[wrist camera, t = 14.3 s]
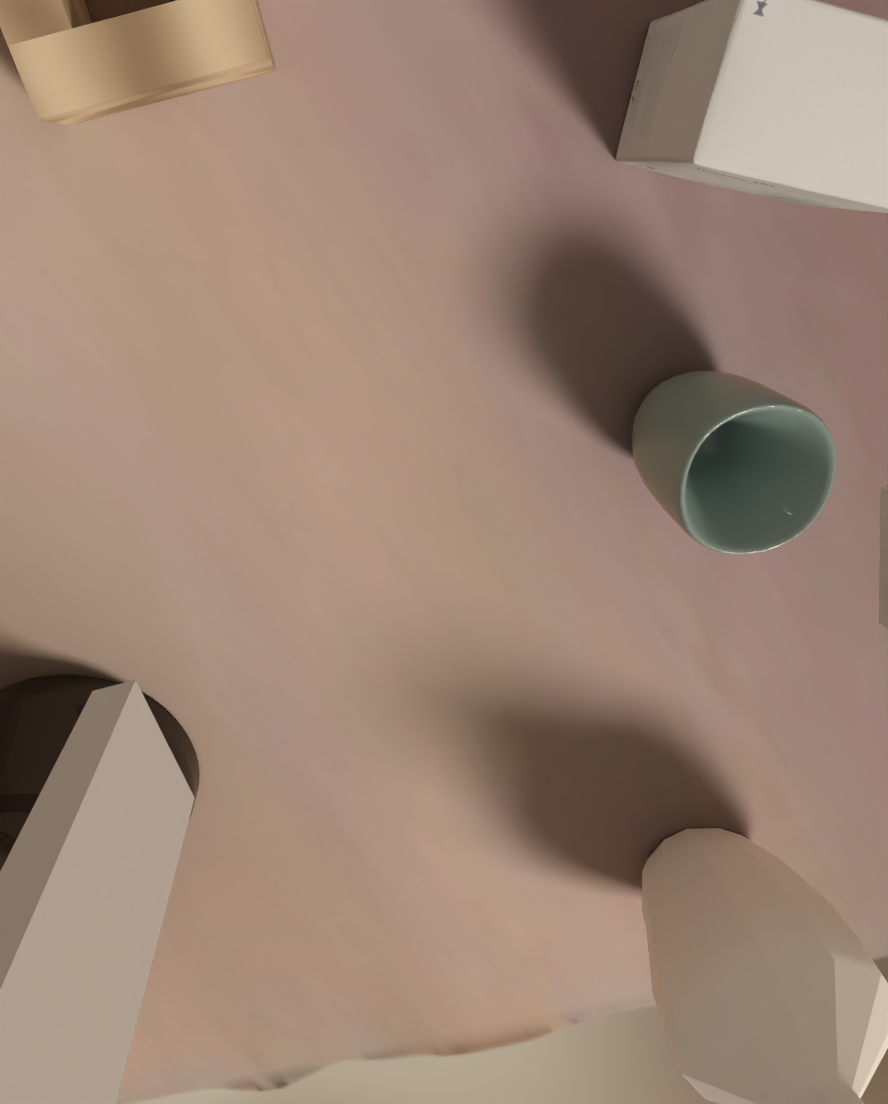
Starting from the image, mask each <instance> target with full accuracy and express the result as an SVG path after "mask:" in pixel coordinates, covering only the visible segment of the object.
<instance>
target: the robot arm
mask: <svg viewBox="0 0 888 1104" xmlns="http://www.w3.org/2000/svg"><path fill="white" fill-rule="evenodd" d="M879 622H880V623H881V624H882V625H883V626H885V627H886V628H887V629H888V485H886V486H882V487H881V495H880V579H879ZM198 786H199V765H198V760H197V756H196V753H195V750H194V747H193V745H192V743H191V741H190V739H189V737H188V735H187V734H186V732H185V731H184V729H183V728H182V727H181V726H180V724H179V723H178V722H177V721H176V720H175V719H174V718H173V717H172V716H171V715H170V714H169V713H168V712H167V711H166V710H165V709H163V708H162V707H161V706H160V705H158V704H157V703H156V702H154V701H153V700H151V699H149V698H148V697H146V696H144V695H143V694H142V692H141V690H140V688H139V686H138V684H137V682H136V680H133V681H129V682H125V683H121V684H117V683H114V682H110V681H106V680H102V679H98V678H92V677H85V676H73V675H59V676H46V677H40V678H35V679H30V680H26V681H23V682H20V683H17V684H14V685H12V686H9V687H7V688H5V689H3V690H1V691H0V1104H116V1100H117V1096H118V1093H119V1089H120V1085H121V1081H122V1077H123V1073H124V1069H125V1066H126V1062H127V1058H128V1054H129V1050H130V1046H131V1042H132V1038H133V1035H134V1031H135V1027H136V1023H137V1019H138V1015H139V1011H140V1007H141V1004H142V1000H143V996H144V992H145V988H146V984H147V980H148V976H149V973H150V969H151V965H152V961H153V957H154V953H155V949H156V946H157V942H158V938H159V934H160V930H161V926H162V922H163V918H164V915H165V911H166V907H167V903H168V899H169V895H170V891H171V887H172V884H173V880H174V876H175V872H176V868H177V864H178V860H179V856H180V853H181V849H182V845H183V841H184V837H185V833H186V829H187V825H188V822H189V819H190V817H191V814H192V810H193V806H194V802H195V799H196V795H197V791H198Z"/></svg>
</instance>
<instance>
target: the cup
mask: <svg viewBox="0 0 888 1104" xmlns="http://www.w3.org/2000/svg"><path fill="white" fill-rule="evenodd" d="M632 452H633V457H634V461H635V465H636V467H637V470H638V472H639V474H640V476H641V478H642V481H643V482H644V484H645V485H646V487H647V488H648V490H649V491H650V492H651V494H652V495H653V496H654V498H655V499H656V500H657V502H658V503H659V504H660V505H661V507H662V508H663V509H664V510H665V511H666V512H667V513H668V515H669V516H670V517H671V518H672V519H673V520H674V521H675V522H676V523H677V524H678V525H679V526H680V527H681V529H682V530H683V531H684V532H685V533H686V534H688V535H689V536H690V537H691V538H693V539H694V540H695V541H697V542H698V543H699V544H701V545H702V546H704V547H707V548H709V549H712V550H714V551H717V552H722V553H727V554H752V553H759V552H764V551H767V550H770V549H773V548H777V547H779V546H781V545H783V544H785V543H787V542H789V541H791V540H793V539H794V538H795V537H797V536H798V535H800V534H801V533H802V532H804V531H805V530H806V529H807V528H808V527H809V526H810V525H811V523H812V522H813V521H814V520H815V519H816V517H817V516H818V514H819V513H820V511H821V510H822V508H823V507H824V504H825V502H826V500H827V498H828V496H829V493H830V490H831V487H832V483H833V479H834V473H835V464H836V458H835V446H834V443H833V439H832V436H831V433H830V431H829V430H828V428H827V427H826V425H825V423H824V422H823V420H822V419H821V418H819V417H818V416H817V415H816V414H815V413H814V412H812V411H811V410H810V409H809V408H807V407H805V406H804V405H802V404H800V403H798V402H796V401H794V400H793V399H791V398H789V397H787V396H785V395H783V394H781V393H779V392H777V391H774V390H772V389H770V388H768V387H766V386H764V385H762V384H760V383H757V382H755V381H753V380H750V379H748V378H745V377H742V376H738V375H734V374H730V373H725V372H720V371H693V372H686V373H683V374H679V375H676V376H673V377H671V378H669V379H667V380H665V381H663V382H661V383H660V384H658V385H657V386H656V387H655V388H653V389H652V390H651V391H650V392H649V393H648V395H647V396H646V397H645V398H644V399H643V401H642V403H641V405H640V407H639V409H638V411H637V414H636V417H635V420H634V423H633V430H632Z"/></svg>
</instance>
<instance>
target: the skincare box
mask: <svg viewBox="0 0 888 1104" xmlns="http://www.w3.org/2000/svg"><path fill="white" fill-rule="evenodd" d="M616 160H617V162H620V163H624V164H628V165H631V166H635V167H639V168H642V169H646V170H650V171H654V172H658V173H662V174H666V175H670V176H674V177H679V178H683V179H687V180H691V181H696V182H700V183H704V184H709V185H713V186H718V187H722V188H726V189H731V190H735V191H739V192H744V193H748V194H752V195H757V196H761V197H766V198H770V199H774V200H779V201H784V202H790V203H797V204H804V205H813V206H823V207H833V208H842V209H852V210H861V211H873V212H885V213H888V19H884V18H880V17H877V16H873V15H870V14H866V13H863V12H859V11H856V10H852V9H849V8H845V7H842V6H838V5H834V4H831V3H827V2H824V1H821V0H704V1H702V2H700V3H697V4H695V5H693V6H691V7H688V8H686V9H683V10H681V11H679V12H675V13H672V14H670V15H668V16H665V17H661V18H659V19H656V20H653V21H652V22H651V24H650V26H649V29H648V33H647V37H646V41H645V45H644V49H643V53H642V56H641V60H640V64H639V68H638V72H637V75H636V79H635V83H634V87H633V91H632V95H631V98H630V102H629V106H628V110H627V114H626V118H625V122H624V125H623V129H622V133H621V138H620V141H619V146H618V150H617V155H616Z"/></svg>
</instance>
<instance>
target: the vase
mask: <svg viewBox="0 0 888 1104" xmlns="http://www.w3.org/2000/svg"><path fill="white" fill-rule="evenodd" d="M642 912H643V916H644V921H645V926H646V931H647V941H648V951H649V961H650V971H651V981H652V991H653V995H654V998H655V1001H656V1004H657V1007H658V1010H659V1013H660V1017H661V1020H662V1023H663V1026H664V1029H665V1032H666V1034H667V1037H668V1040H669V1043H670V1046H671V1048H672V1051H673V1054H674V1057H675V1059H676V1062H677V1065H678V1067H679V1070H680V1073H681V1074H682V1075H683V1076H684V1077H685V1078H686V1080H687V1081H688V1082H689V1083H690V1084H691V1085H692V1086H693V1087H694V1088H695V1089H696V1090H697V1091H698V1092H699V1093H700V1094H701V1095H702V1096H703V1097H704V1098H705V1099H706V1100H709V1101H713V1102H716V1103H720V1104H864V1102H863V1101H862V1100H861V1099H860V1098H861V1096H862V1095H863V1093H864V1091H865V1089H866V1087H867V1085H868V1083H869V1081H870V1080H871V1078H872V1076H873V1074H874V1072H875V1070H876V1069H877V1067H878V1065H879V1063H880V1061H881V1059H882V1057H883V1056H884V1053H885V1052H886V1050H887V1048H888V983H887V982H886V980H885V978H884V977H883V975H882V974H881V972H880V971H879V969H878V968H877V966H876V965H875V963H874V962H873V960H872V959H871V957H870V956H869V954H868V953H867V951H866V950H865V948H864V947H863V945H862V944H861V942H860V940H859V939H858V937H857V936H856V934H855V933H854V931H853V930H852V929H851V928H850V927H849V925H848V924H847V923H846V922H845V920H844V919H843V918H842V917H841V916H840V914H839V913H838V912H837V911H836V909H835V908H834V907H833V906H832V905H831V903H829V902H828V901H827V900H826V899H825V898H824V897H823V896H822V895H821V894H819V893H818V892H817V891H816V890H815V889H814V888H813V887H812V886H810V885H809V884H808V883H807V882H806V881H805V880H804V879H803V878H801V877H800V876H799V875H798V874H797V873H796V872H795V871H794V870H792V869H791V868H790V867H789V866H788V865H787V864H786V863H785V862H783V861H782V860H780V859H779V858H777V857H776V856H775V855H773V854H772V853H770V852H769V851H767V850H766V849H764V848H762V847H760V846H758V845H757V844H755V843H753V842H752V841H750V840H748V839H747V838H745V837H744V836H742V835H740V834H737V833H734V832H730V831H727V830H724V829H720V828H696V829H685V830H683V831H681V832H679V833H677V834H675V835H672V836H670V837H668V838H666V839H664V840H663V841H662V843H661V844H660V845H659V846H658V847H657V849H656V850H655V851H654V852H653V853H652V854H651V856H650V857H649V858H648V859H647V861H646V864H645V866H644V868H643V870H642Z"/></svg>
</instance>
